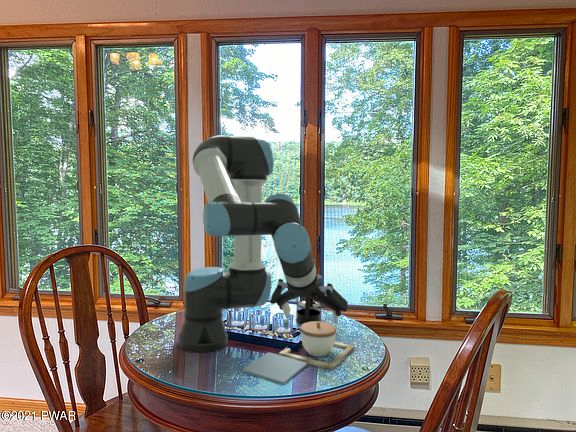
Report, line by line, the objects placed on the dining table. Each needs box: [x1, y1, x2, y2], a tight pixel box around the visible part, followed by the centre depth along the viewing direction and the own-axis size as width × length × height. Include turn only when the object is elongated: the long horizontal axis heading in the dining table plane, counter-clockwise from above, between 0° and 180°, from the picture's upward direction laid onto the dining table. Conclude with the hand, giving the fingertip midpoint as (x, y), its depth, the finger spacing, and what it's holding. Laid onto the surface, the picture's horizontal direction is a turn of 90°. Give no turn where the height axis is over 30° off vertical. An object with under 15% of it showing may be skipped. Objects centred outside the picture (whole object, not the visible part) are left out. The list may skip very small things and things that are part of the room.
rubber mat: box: [241, 351, 308, 385], centre depth 112 cm, size 13×13×1 cm
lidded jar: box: [300, 321, 337, 357], centre depth 123 cm, size 11×11×9 cm
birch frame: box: [278, 341, 355, 371], centre depth 123 cm, size 17×17×1 cm
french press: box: [295, 259, 323, 325], centre depth 150 cm, size 12×9×23 cm
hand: (312, 316), depth 112 cm, fingers open, 13 cm apart
